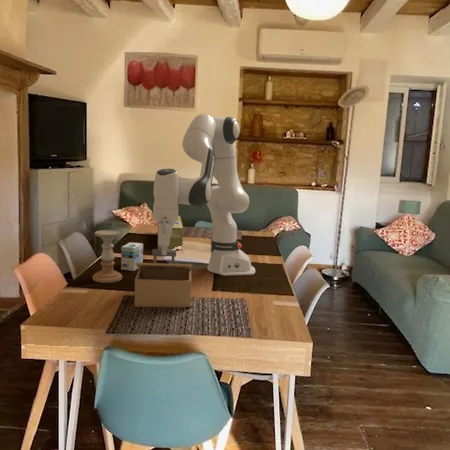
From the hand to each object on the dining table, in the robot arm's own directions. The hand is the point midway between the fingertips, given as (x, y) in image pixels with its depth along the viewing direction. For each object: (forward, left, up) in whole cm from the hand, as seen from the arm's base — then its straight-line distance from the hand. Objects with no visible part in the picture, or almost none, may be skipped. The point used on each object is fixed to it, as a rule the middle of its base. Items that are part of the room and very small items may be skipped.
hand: (164, 253), depth 166 cm
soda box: (+2, -101, -20) cm, 103 cm away
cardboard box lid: (0, -5, -6) cm, 8 cm away
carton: (0, -5, -19) cm, 20 cm away
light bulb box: (+17, -47, -20) cm, 53 cm away
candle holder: (+25, -29, -20) cm, 43 cm away
